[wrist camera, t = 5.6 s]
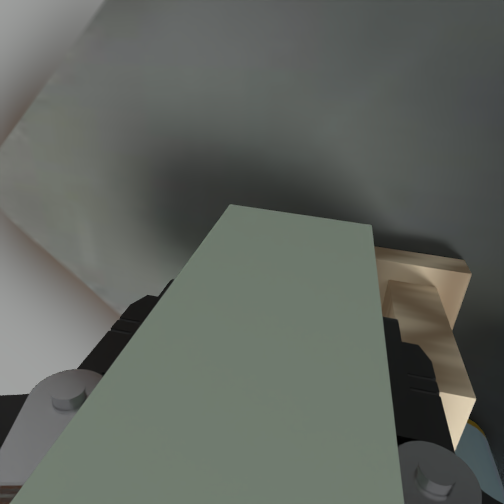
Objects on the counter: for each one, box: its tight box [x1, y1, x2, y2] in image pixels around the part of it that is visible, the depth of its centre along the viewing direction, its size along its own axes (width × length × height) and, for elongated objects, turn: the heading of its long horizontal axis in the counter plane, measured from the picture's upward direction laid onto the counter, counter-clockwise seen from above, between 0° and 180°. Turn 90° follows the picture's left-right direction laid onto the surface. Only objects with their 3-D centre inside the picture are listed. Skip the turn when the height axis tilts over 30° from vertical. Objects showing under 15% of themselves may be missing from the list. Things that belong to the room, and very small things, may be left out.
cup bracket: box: [374, 246, 476, 451], centre depth 27 cm, size 14×10×12 cm
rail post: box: [10, 204, 404, 504], centre depth 8 cm, size 4×4×12 cm
